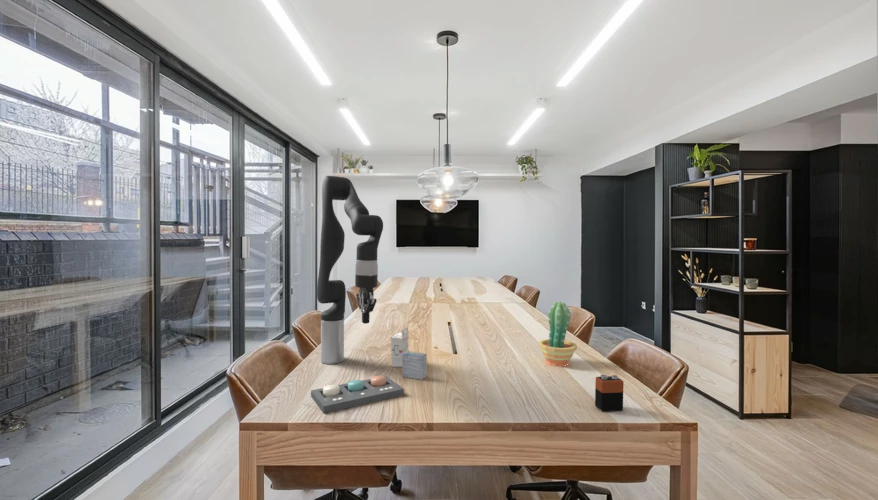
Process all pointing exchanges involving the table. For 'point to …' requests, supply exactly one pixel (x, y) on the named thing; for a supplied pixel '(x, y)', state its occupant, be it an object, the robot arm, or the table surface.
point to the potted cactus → (558, 336)
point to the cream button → (331, 390)
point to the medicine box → (414, 365)
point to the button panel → (356, 395)
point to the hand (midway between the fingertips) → (365, 322)
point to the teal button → (355, 385)
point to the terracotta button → (378, 381)
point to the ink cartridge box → (399, 348)
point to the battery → (609, 393)
